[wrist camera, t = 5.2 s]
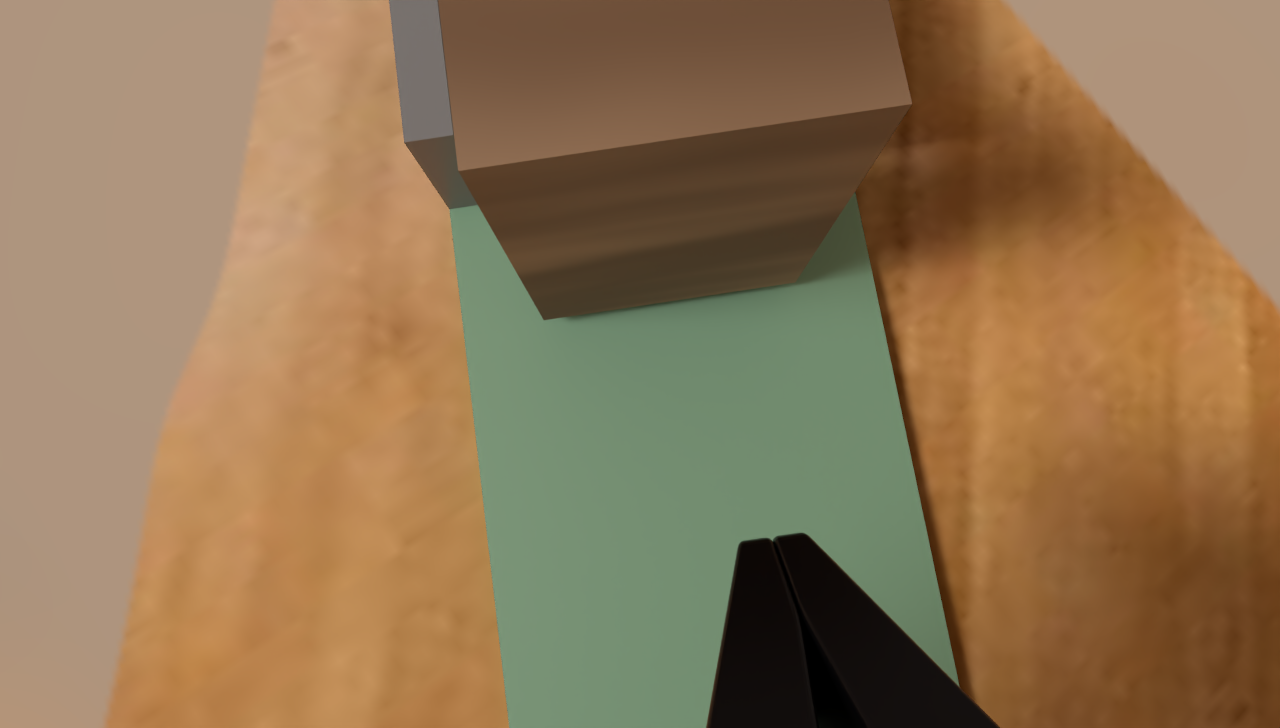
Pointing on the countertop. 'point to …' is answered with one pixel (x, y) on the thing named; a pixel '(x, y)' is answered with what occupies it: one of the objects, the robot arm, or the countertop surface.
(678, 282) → the upright walnut wood block
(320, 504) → the countertop surface
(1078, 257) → the countertop surface
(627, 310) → the strip
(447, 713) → the countertop surface
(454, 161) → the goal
